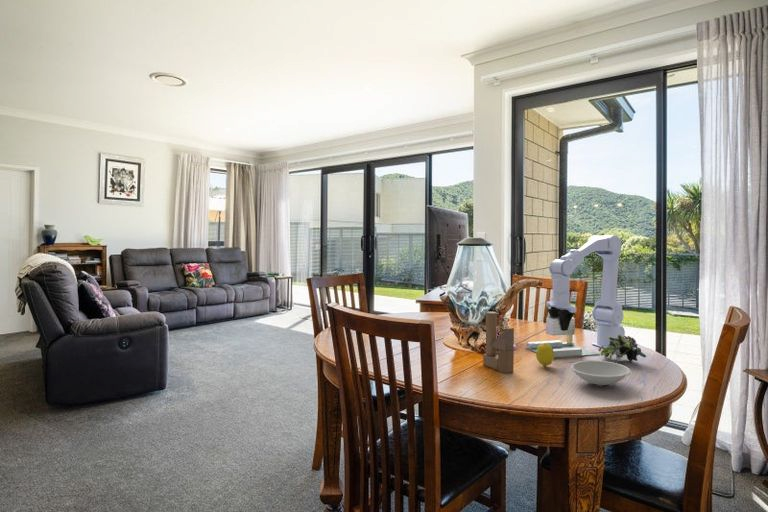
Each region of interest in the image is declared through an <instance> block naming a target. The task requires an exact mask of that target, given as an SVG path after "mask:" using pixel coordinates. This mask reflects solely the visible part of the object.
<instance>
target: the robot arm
mask: <svg viewBox="0 0 768 512" xmlns="http://www.w3.org/2000/svg"><path fill="white" fill-rule="evenodd" d="M621 252H622V240H621V239H620V237H619V236H618V235H616V234H611V235H592V236H590V237H589V238H588V240H587V242H585V243H584V244H583V245H582V246H581V247H579V248H578V249H575V248H574V249H569V252H567V253H566V254H565V255H562V256H561V257H560V258H559V259H553V261H551V262H550V264H549V267H548V269H549V273H550V275H551V276H550V277H551V279H552V301H551V300H550V301H545V302H546V306H545V307H546V308H547V310H546V311H547V312H548V314H549V317H560V321H561V329H562V331H566V330H568V327H569V324H570V321H571V319H572V317H573V318H574V316H575V314H576V313H577V306H575V305H572V304H570V293H571V292H570V287H571V285H570V283H571V282H570V280H571V277H570V276H571V275H573V273H574V271H575V269H576V268H577V267H578V266H580V264H582V263H584V261H585V257H587V256H589V255H590V254H593V253H595V254H597V256H599V257H600V258H601V259H602V260H603V263H602V264H603V265H602V277H601V290H600V299H598V300H596V301H595V302H594V307H593V309H592V312H591V315H592V318H593V319H592V320H594V321H595V324H596V342H591V345H593V346H596V347H599V348H600V347H601V346H603V347H604V348H603V350H604V349H605V348H607V347H608V346H609V344H610V342H609V341H611V340H610V339H609V336H610V337H612V338H614V339H616V338H617V339H618V335H622V337H624V336H626V334H625V333H626V332H625V328H624V327H623V325H622V322H623V321H624V312H623V305H622V304H621V303H619V302H618V301H617V291H618V276H619V263H620V262H619V261H620V256H621ZM624 338H625V337H624ZM612 348H613V347H612ZM614 348H615V347H614Z"/></svg>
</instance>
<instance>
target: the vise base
mask: <svg viewBox="0 0 768 512" xmlns="http://www.w3.org/2000/svg"><path fill="white" fill-rule="evenodd" d="M524 348H525V349H526V350H529V351H531V352H533V353H535V354H536V351H537V349H529V348H527V346H524ZM552 349H553V352H554V359H560V358H559V357H565V358H573V357H572V356H579V357H586V356H585V355H593V356H600V355H601V353H598V352H595V351H592V350H590V349H587V348H584V347H582V346H579V345H576V344H574V346H562V347H555V348H552Z"/></svg>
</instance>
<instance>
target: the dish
mask: <svg viewBox="0 0 768 512" xmlns="http://www.w3.org/2000/svg"><path fill="white" fill-rule="evenodd" d="M570 369H571V371H573V372H574V373H575V374H576V375H577V376H578V377H579V378H580V379H581V380H583V381H585V382H588V383H590V384H594V385H596V386H599V387H603V386H607V385H608V386H609V385H614V384H616V383H619V382H620V381H622V380H623V379H624V378H625V377H626V376H628V375H630V374H631V368H629V367H628V366H626V365H624V364H621V363H618V362H617V363H616V362H614V361H613V362H611V361H607V360H581V361H575V362H573V363H571V364H570Z"/></svg>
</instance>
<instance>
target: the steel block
mask: <svg viewBox="0 0 768 512" xmlns="http://www.w3.org/2000/svg"><path fill="white" fill-rule="evenodd" d="M545 319H546V324H545V325H546V326H545V329H546V330H545V334H547V335H550V336H553V337H554V336H555V337H556V336H557V337H558V336H567V335H573V336H574V335H575V332H576V331H575V330H576V324H575V322H576V318H575V317H574V316H573V317H572V319H571V321H570V324H569V327H568V330H566V331H562V329H561V321H560V317H551V316H547V317H546V318H545Z"/></svg>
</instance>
